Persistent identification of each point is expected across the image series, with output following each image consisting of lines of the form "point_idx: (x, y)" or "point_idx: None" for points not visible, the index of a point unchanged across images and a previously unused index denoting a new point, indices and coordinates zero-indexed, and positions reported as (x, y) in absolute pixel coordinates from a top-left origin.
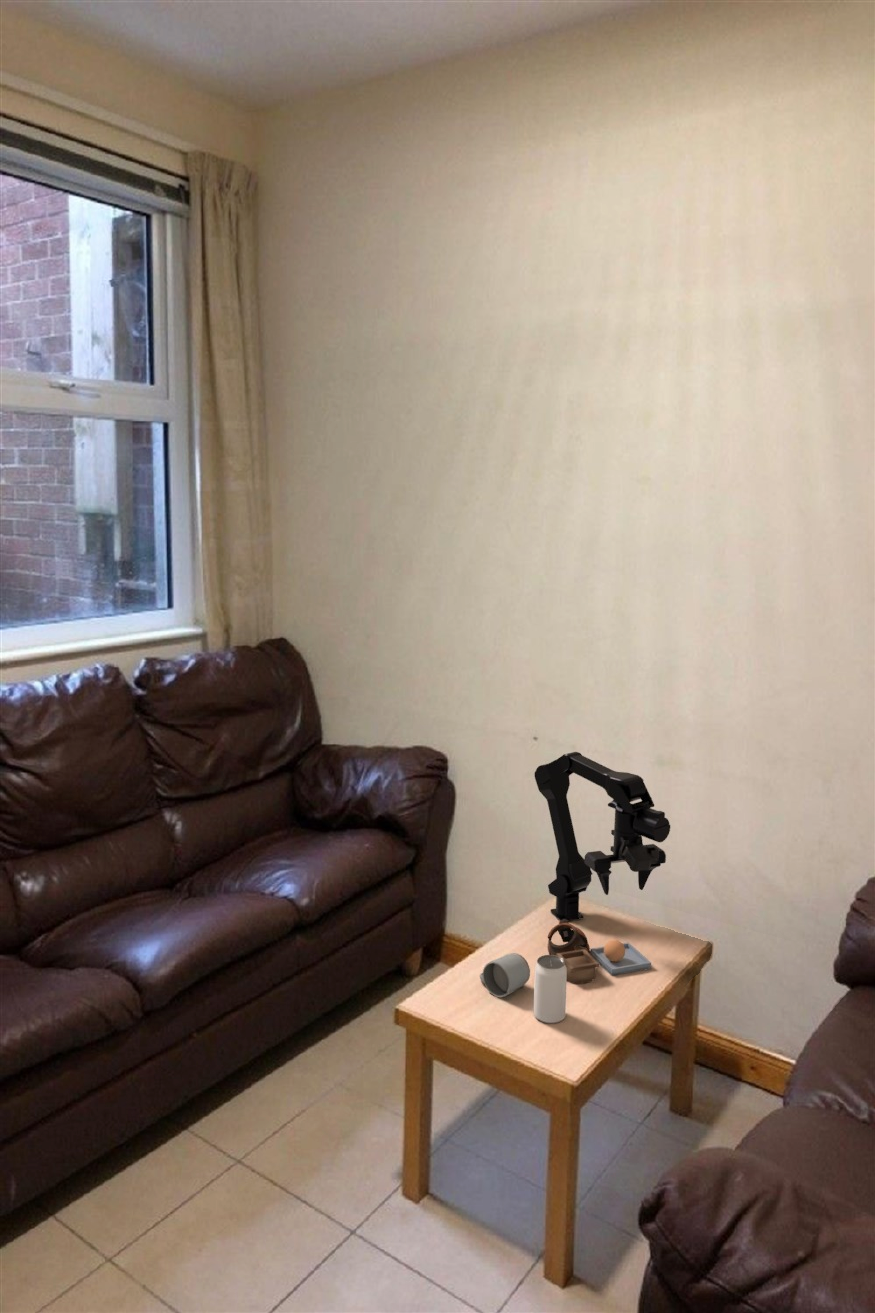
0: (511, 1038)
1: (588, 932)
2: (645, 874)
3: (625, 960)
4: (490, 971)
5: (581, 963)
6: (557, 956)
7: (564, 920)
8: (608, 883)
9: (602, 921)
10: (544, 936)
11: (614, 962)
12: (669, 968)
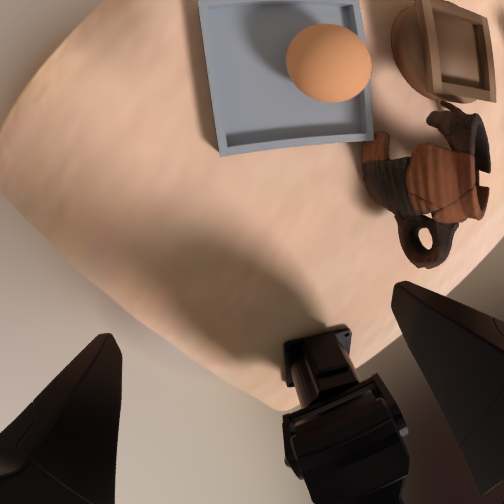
0: None
1: (306, 273)
2: (44, 434)
3: (275, 55)
4: None
5: (451, 37)
6: None
7: (445, 251)
8: (470, 325)
9: (236, 328)
10: None
11: None
12: (132, 7)
